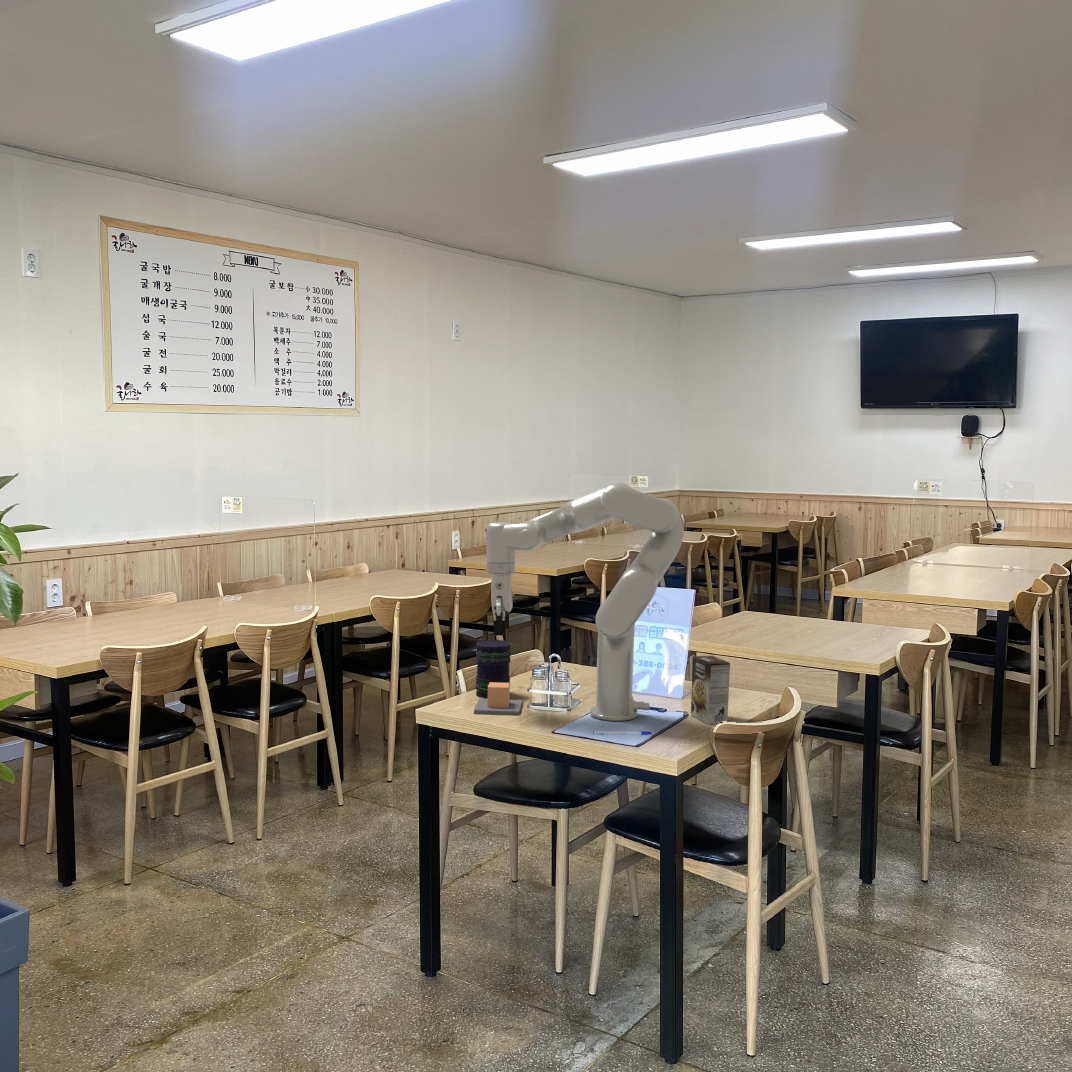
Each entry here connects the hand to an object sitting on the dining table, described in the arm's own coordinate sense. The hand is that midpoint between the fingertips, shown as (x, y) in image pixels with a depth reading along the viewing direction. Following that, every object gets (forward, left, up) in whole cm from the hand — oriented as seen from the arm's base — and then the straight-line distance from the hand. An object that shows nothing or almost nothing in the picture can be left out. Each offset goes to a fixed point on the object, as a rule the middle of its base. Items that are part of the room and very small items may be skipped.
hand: (501, 631), depth 266 cm
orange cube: (0, 0, -20) cm, 20 cm away
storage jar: (+3, -15, -21) cm, 26 cm away
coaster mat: (0, 0, -21) cm, 21 cm away
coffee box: (-56, +4, -21) cm, 60 cm away
